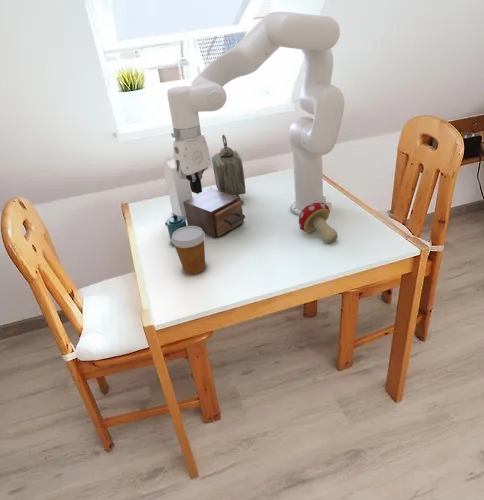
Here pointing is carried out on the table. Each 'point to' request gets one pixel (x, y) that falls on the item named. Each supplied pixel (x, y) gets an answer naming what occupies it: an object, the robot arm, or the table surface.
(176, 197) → the milk
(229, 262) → the table surface
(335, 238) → the decorative mushroom
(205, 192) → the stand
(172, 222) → the kettle
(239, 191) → the green bell
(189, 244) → the disposable coffee cup
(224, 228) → the drawer
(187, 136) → the robot arm
